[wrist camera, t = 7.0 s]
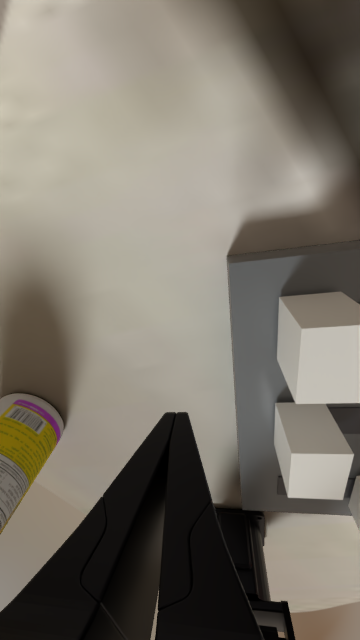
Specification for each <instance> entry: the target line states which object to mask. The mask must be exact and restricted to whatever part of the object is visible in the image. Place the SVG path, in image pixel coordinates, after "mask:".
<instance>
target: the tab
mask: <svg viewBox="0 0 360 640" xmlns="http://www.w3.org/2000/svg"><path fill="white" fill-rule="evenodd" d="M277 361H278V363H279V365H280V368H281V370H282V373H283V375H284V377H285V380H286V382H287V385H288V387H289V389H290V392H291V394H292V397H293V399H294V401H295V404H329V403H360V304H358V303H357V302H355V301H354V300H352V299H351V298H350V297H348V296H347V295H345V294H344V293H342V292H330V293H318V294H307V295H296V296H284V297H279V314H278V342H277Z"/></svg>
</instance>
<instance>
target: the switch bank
mask: <svg viewBox="0 0 360 640" xmlns="http://www.w3.org/2000/svg"><path fill="white" fill-rule="evenodd" d="M227 270H228V287H229V304H230V321H231V338H232V355H233V372H234V389H235V406H236V423H237V440H238V457H239V474H240V489H241V499H242V509H243V510H254V511H273V512H291V513H310V514H329V515H347V516H352V513H351V511H350V509H349V507H348V505H349V501H350V498H351V494H352V490H353V487H354V483H355V479H356V476H360V403H329V404H326V406H327V407H328V409H329V411H330V413H331V414H332V416H333V418H334V420H335V422H336V423H337V425H338V427H339V429H340V430H341V432H342V434H343V436H344V437H345V439H346V441H347V443H348V445H349V446H350V448H351V450H352V452H353V453H354V457H353V461H352V465H351V469H350V473H349V477H348V481H347V485H346V489H345V493H344V497H343V500H332V499H309V498H288V496H287V492H286V488H285V484H284V481H283V477H282V473H281V469H280V465H279V461H278V457H277V453H276V450H275V446H274V428H275V403H292V402H295V401H294V399H293V397H292V394H291V392H290V389H289V387H288V385H287V382H286V380H285V377H284V375H283V373H282V370H281V368H280V365H279V363H278V361H277V342H278V314H279V297H284V296H296V295H307V294H318V293H330V292H342V293H344V294H345V295H347V296H348V297H350V298H351V299H352V300H354V301H355V302H357V303H358V304H360V240H357V241H349V242H340V243H332V244H324V245H315V246H307V247H298V248H290V249H282V250H273V251H265V252H257V253H248V254H240V255H231V256H227Z"/></svg>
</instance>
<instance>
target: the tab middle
mask: <svg viewBox="0 0 360 640" xmlns="http://www.w3.org/2000/svg"><path fill="white" fill-rule="evenodd" d="M274 446H275V450H276V453H277V457H278V461H279V465H280V469H281V473H282V477H283V481H284V484H285V488H286V492H287V496H288V498H309V499H332V500H343V497H344V493H345V489H346V485H347V481H348V477H349V473H350V469H351V465H352V461H353V457H354V453H353V452H352V450H351V448H350V446H349V445H348V443H347V441H346V439H345V437H344V436H343V434H342V432H341V430H340V429H339V427H338V425H337V423H336V422H335V420H334V418H333V416H332V414H331V413H330V411H329V409H328V407H327V406H326V404H295V402H292V403H275V428H274Z"/></svg>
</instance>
